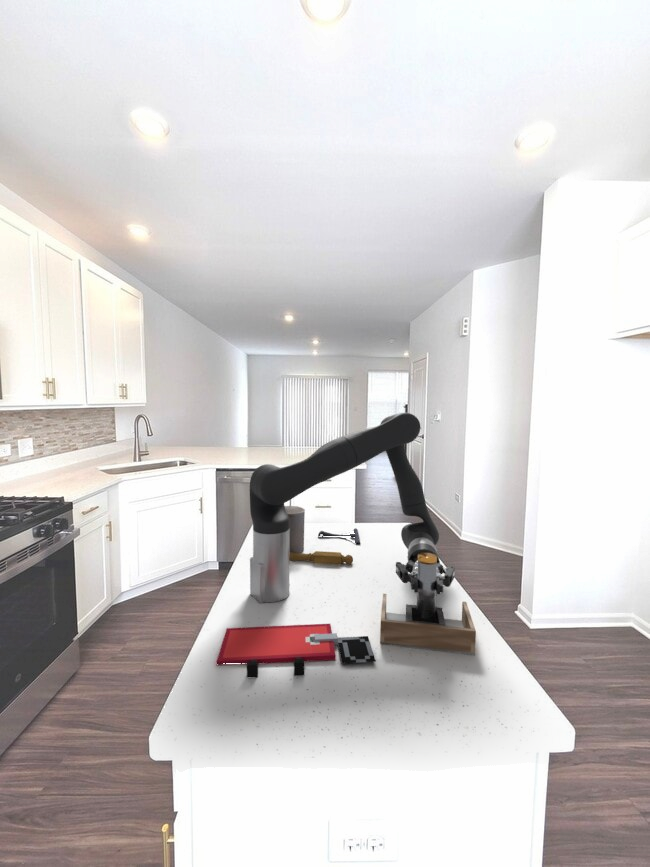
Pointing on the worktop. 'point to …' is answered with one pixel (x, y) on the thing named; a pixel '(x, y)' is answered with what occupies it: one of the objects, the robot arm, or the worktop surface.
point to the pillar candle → (296, 528)
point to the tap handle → (322, 558)
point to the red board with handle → (290, 646)
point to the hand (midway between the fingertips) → (427, 589)
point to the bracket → (342, 535)
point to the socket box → (428, 630)
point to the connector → (426, 585)
